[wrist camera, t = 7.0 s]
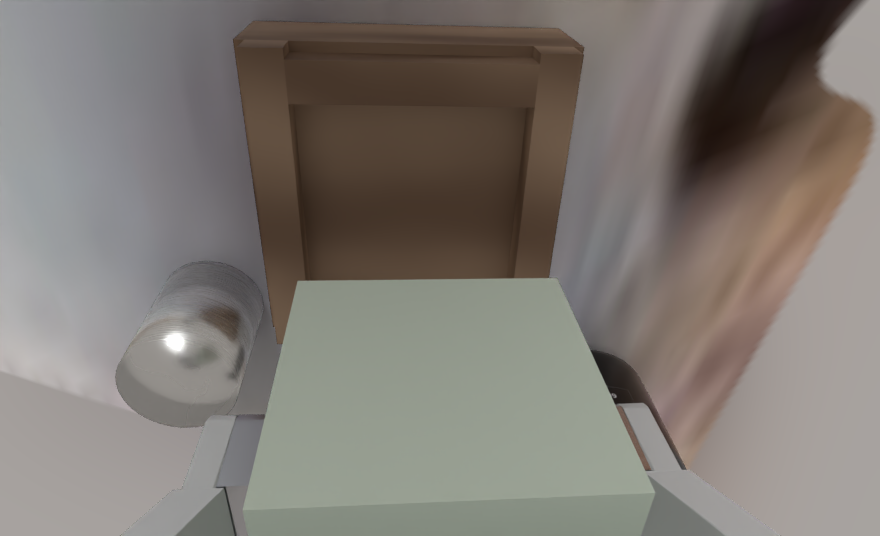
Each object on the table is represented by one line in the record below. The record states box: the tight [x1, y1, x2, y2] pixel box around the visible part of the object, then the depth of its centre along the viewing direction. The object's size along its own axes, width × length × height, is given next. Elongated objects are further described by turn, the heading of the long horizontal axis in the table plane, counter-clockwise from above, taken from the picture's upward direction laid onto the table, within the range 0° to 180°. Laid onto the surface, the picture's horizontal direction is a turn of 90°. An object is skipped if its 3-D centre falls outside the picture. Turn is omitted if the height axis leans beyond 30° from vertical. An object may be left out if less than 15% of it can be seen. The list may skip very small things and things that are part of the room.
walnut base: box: [233, 21, 584, 344], centre depth 20 cm, size 10×10×4 cm
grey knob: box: [115, 261, 263, 428], centre depth 22 cm, size 4×4×5 cm
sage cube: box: [243, 278, 655, 536], centre depth 11 cm, size 5×5×5 cm
